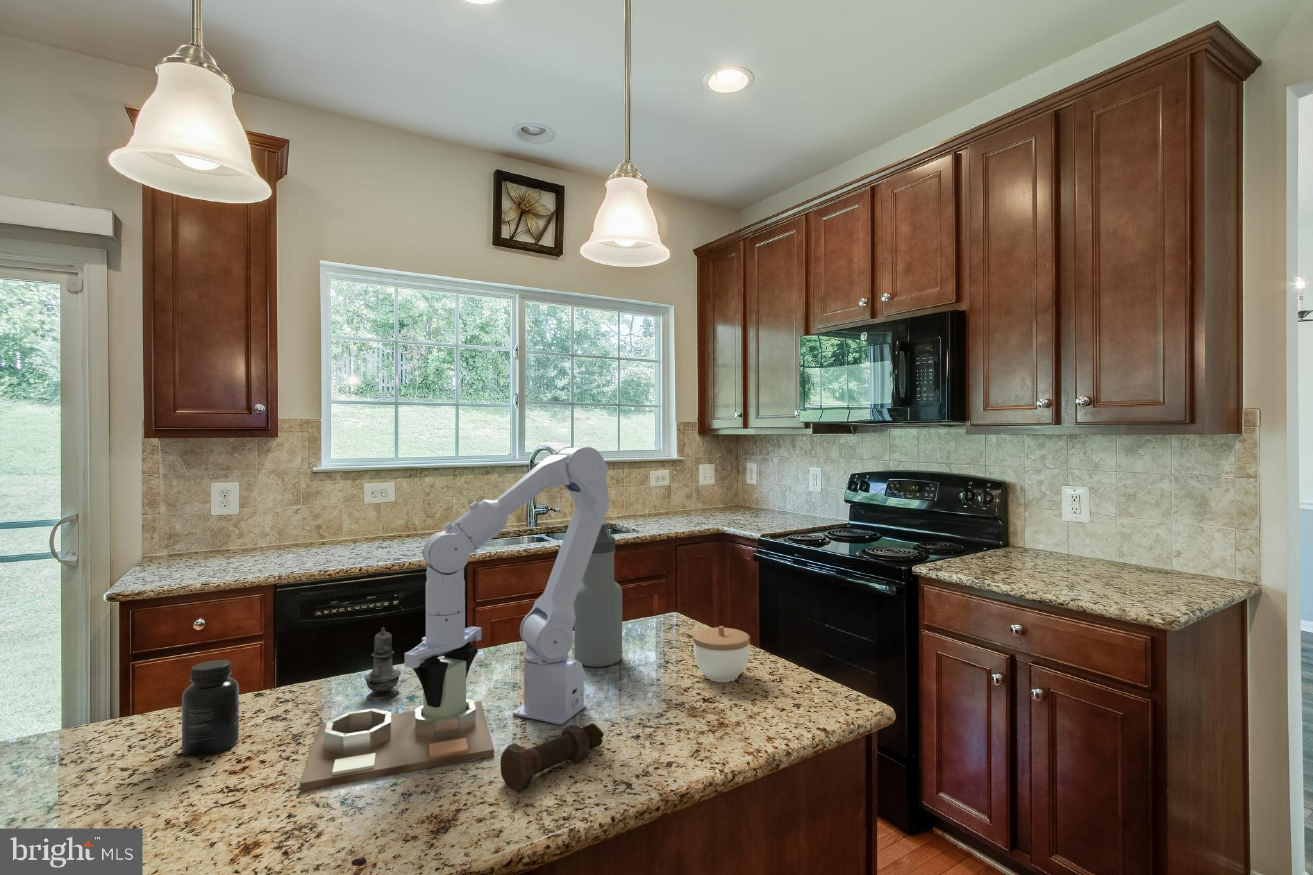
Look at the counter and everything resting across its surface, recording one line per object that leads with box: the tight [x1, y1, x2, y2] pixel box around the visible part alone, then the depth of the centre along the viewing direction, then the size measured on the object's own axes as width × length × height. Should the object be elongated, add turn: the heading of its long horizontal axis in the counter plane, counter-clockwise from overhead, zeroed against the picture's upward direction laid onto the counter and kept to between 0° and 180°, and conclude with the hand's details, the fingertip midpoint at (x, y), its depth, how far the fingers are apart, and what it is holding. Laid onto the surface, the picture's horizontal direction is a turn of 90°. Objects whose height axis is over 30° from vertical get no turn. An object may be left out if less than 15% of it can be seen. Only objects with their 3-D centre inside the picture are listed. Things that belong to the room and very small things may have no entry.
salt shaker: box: [364, 626, 402, 703], centre depth 111 cm, size 6×6×12 cm
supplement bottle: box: [181, 659, 240, 758], centre depth 92 cm, size 7×7×12 cm
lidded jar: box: [692, 625, 751, 683], centre depth 119 cm, size 11×11×9 cm
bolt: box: [500, 723, 605, 793], centre depth 86 cm, size 6×5×15 cm
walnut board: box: [300, 700, 495, 792], centre depth 93 cm, size 24×18×1 cm
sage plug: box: [422, 656, 467, 720], centre depth 96 cm, size 4×4×8 cm
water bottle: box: [573, 521, 623, 668], centre depth 129 cm, size 10×10×28 cm
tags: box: [332, 738, 468, 775], centre depth 87 cm, size 17×4×1 cm, turn 111°
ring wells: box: [325, 698, 476, 755], centre depth 94 cm, size 21×9×2 cm, turn 111°
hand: (445, 699), depth 96 cm, fingers closed on sage plug, 4 cm apart
